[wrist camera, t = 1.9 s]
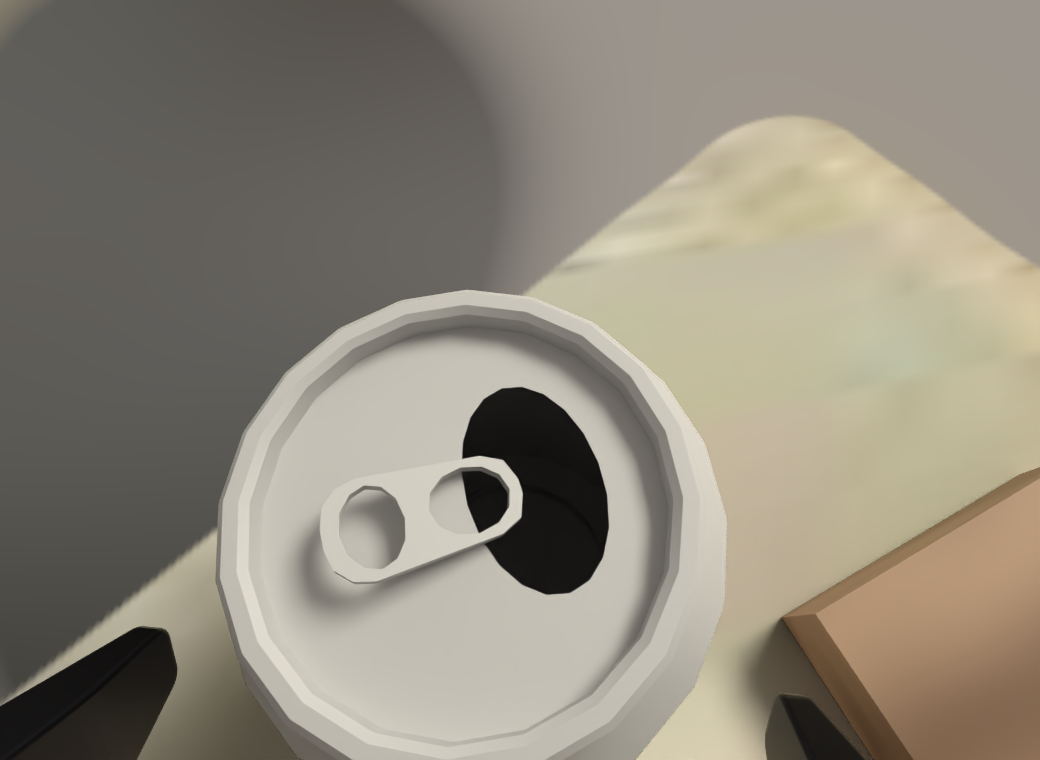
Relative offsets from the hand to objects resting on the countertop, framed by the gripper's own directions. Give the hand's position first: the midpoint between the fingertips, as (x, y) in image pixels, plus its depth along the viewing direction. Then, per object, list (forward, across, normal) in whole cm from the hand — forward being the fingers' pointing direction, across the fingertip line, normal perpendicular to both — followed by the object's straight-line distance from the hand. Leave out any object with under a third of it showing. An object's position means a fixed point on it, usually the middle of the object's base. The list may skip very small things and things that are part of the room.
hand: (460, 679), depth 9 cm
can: (+8, 0, +5) cm, 10 cm away
